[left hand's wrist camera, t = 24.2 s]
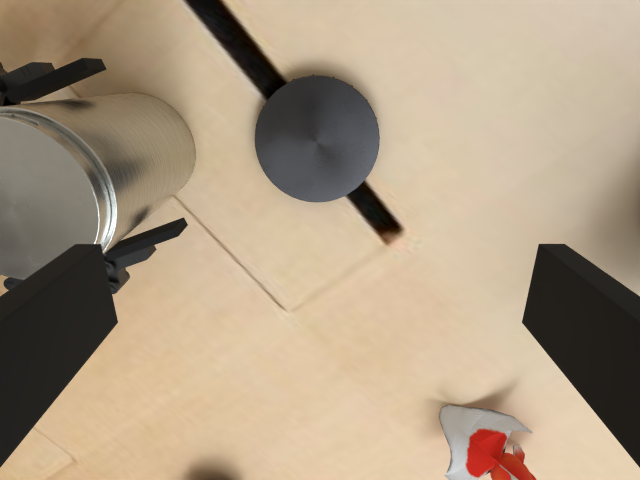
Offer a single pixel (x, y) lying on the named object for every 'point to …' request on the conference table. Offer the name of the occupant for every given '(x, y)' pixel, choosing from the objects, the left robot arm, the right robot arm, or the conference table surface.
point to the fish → (482, 444)
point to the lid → (317, 138)
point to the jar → (84, 173)
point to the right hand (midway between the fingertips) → (141, 150)
